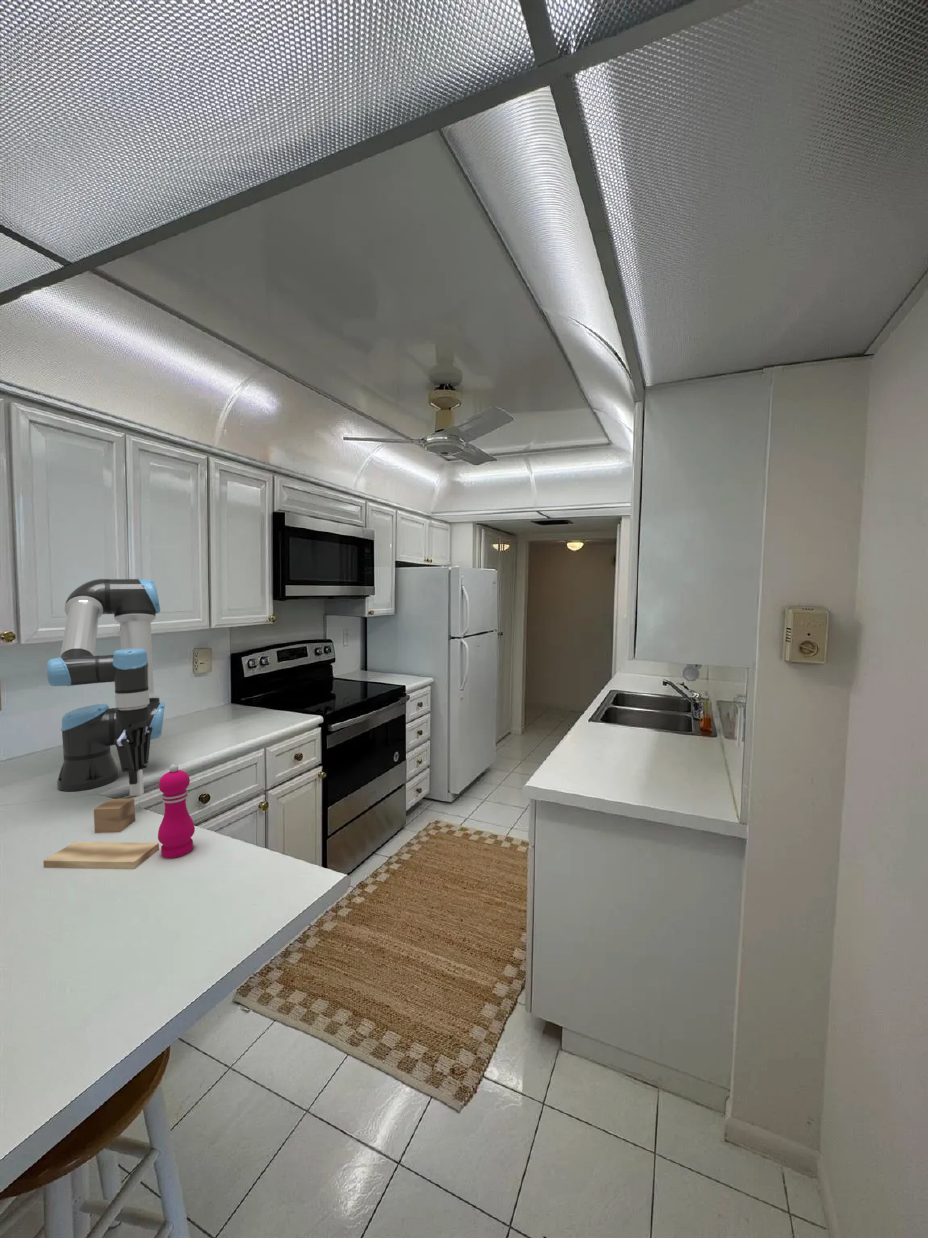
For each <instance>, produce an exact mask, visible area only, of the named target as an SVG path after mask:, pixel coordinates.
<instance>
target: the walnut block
mask: <svg viewBox="0 0 928 1238" xmlns="http://www.w3.org/2000/svg"><path fill="white" fill-rule="evenodd" d="M135 806H136V805H135V798H134V797H133V798H109V799H108V800H106V801H105V802H103V803H101V804H99V805H98V806H97V807H95V808H94V809H93V821H94V822H93V823H94V826H93V827H94V833H95V834H102V833H103V834H104V833H105V834H108V833H110V834H111V833H122V832H123V831H124V830H125V829H126V828H128V827H130V825H132V824H133V823H135V822H136V807H135Z"/></svg>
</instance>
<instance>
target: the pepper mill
mask: <svg viewBox="0 0 928 1238" xmlns="http://www.w3.org/2000/svg"><path fill="white" fill-rule="evenodd" d="M168 769H169V770H168V772H166V773H164V774H163V775H162V776H161V777H160V779H159V782H158V788H159V791H160V792H161V793H162V795H161V798H162V799H161V801H162V803H164V814H163V818H162V820H161V823H160V824H159V827H158V832H157V840H158V841H159V842H158V843H159V844H161V847H160V856H161V857H162V858H164V859H174V858H180V857H182V856H185V855H187V854H188V853H190V852H191V851H192V850H193V849H194V840H193V839H192V837H193V836H194V835H195V831H196V828H195V823H194V820H193V819H192V817H191V815H190V813H189V812H188V808H187V798H188V796H189V795H188V793H189V792H188V790H187V788H189V786H190V783H191V780H190V779H191V778H190V776H189V774H188V773H187V772H186V771H184V770H181V769H179V766H178V765H177V764H174V763H173V764H171V765H170V766H169V768H168Z"/></svg>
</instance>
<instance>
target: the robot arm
mask: <svg viewBox="0 0 928 1238" xmlns="http://www.w3.org/2000/svg"><path fill="white" fill-rule="evenodd" d="M157 590H158V589H157V587H156V583H155V581H153V580H152V579H143V578H142V579H141V578H126V579H125V578H122V579H121V578H98V579H93V580H90V581H86V582H85V583H83V584H81V585H80V586H78V587H76V588H75V589H74V590H73V591H72V592H71V593H70V594H69V595H68V597H67V599H66V600H65V604H64V612H65V614H66V623H65V627H64V631H63V632H64V633H63V639H62V645H61V650H60V653H59V654H60V655H59V656H58V657H57V658H56V657H55V658H50V659H49V660H48V661H47V664H46V676H47V677H46V678H47V682H48V684H49V685H50V686H52V687H71V686H73V687H74V686H82V685H83V686H84V685H90V684H91V685H93V684H101V683H102V684H103V683H114V699H115V700H114V701H115V702H114V703H115V707H111V708H110V706H109V704H107V703H101V704H100V703H95V704H91V705H86V706H83V707H80V708H75V709H72V710H70V711H68V712H66V713H65V714H64V715H63V716H62V717H61V728H60V730H61V731H60V732H61V734H62V735H61V738H62V752H63V753H62V755H63V763H62V766H61V769H60V771H59V775H58V778H57V781H56V782H57V785H56V786H57V789H58V790H59V791H63V792H77V791H85V790H91V789H94V788H98V787H102V786H105V785H108V784H111V783H112V782H114V781H116V780H117V779H118V778H119V775H120V774H119V769H118V767H117V765H116V762H115V759H114V758H113V756H112V753H111V752H112V751H111V747H112V746H115V747H116V749H117V750H116V751H117V754H118V760H119V764H120V768H121V772H122V773H128V783H129V796H130V797H131V796H134V797H135V796H136V797H137V796H142V795H144V793H145V792H144V791H145V788H144V769H147V768H148V764H149V758H150V745H151V740H156V739H159V738H160V737H161V735H162V733H163V724H164V716H165V714H164V713H165V707H166V706H165V705H166V704H165V702H161V701H160V696H158V695H157V694H156V693H155V691H154V686H155V685H154V668H153V666H154V665H153V647H152V644H153V643H152V622H153V621H155V620H156V617H157V615H156V614H159V613H161V606H160V600H159V595H158V591H157ZM102 615H113V617H114V618H113V619H114V620H115V621H116V622H117V623H119V630H120V632H119V633H120V649H117V650H115V651H114V652H113V654H105V655H96V646H97V645H96V644H97V637H98V636H97V635H98V626H99V619H100V618H101V617H102Z"/></svg>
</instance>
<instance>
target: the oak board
mask: <svg viewBox="0 0 928 1238" xmlns="http://www.w3.org/2000/svg"><path fill="white" fill-rule="evenodd" d="M159 850H160V842H111V841H110V842H109V841H108V842H107V841H106V842H105V841H103V842H99V841H97V842H96V841H74V842H72V843H70V844H68V845H66V846H65V847H64V848H62V849H61V850H58V851H57V852H55V853H54V854H52V855H51V856H49V857H47V858H46V859H44V860H43V868H46V869H47V868H49V869H52V868H53V869H55V868H56V869H59V868H60V869H104V870H106V869H107V870H108V869H109V870H110V869H112V870H135V869H136V868H138V867H139V866H140V865H142V863H144V862H145V861H147V860H148V859H149V858H150V857H151V856H152V855H153V854H155V853H157V852H158V851H159Z"/></svg>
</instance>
